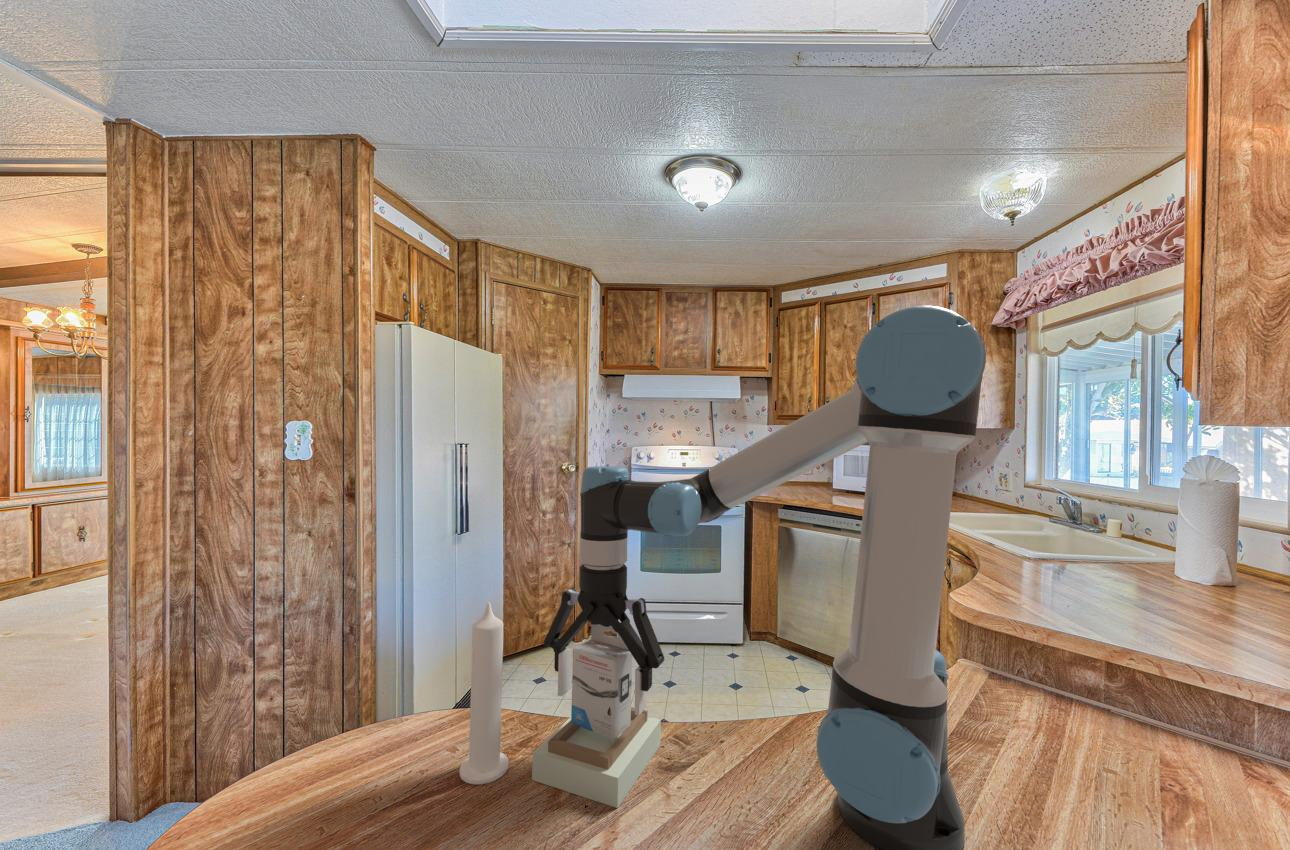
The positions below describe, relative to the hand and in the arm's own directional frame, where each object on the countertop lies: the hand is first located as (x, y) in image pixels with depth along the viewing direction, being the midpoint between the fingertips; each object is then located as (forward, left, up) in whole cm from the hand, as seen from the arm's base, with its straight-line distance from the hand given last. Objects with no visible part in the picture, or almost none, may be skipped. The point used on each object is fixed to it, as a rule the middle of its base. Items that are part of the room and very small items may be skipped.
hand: (601, 701), depth 79 cm
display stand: (0, 0, -9) cm, 9 cm away
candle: (+15, +9, -9) cm, 20 cm away
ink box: (0, 0, -4) cm, 4 cm away
